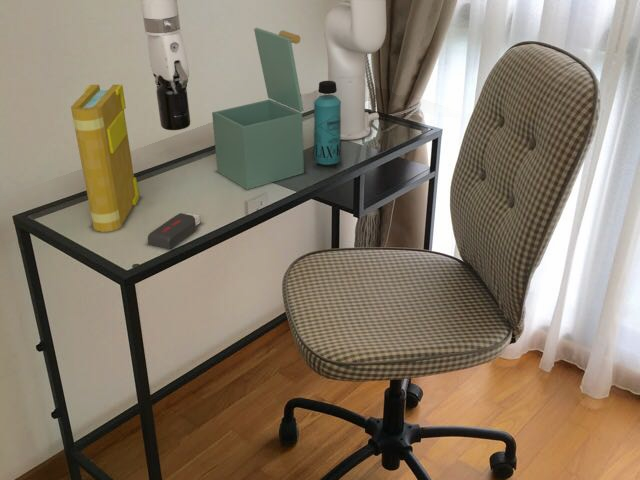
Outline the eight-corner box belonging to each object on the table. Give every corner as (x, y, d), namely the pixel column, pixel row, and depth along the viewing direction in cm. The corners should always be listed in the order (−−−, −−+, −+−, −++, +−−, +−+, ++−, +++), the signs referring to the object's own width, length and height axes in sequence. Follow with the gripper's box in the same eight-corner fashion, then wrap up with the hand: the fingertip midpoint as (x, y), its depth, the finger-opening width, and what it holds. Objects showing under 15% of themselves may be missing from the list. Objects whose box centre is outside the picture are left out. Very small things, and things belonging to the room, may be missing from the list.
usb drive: (148, 244, 154) (146, 231, 153) (183, 220, 163) (181, 208, 162) (170, 249, 152) (168, 236, 151) (204, 224, 161) (202, 212, 160)
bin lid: (287, 39, 166) (308, 31, 168) (253, 28, 175) (274, 20, 177) (300, 112, 176) (320, 103, 178) (268, 98, 185) (287, 89, 188)
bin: (247, 189, 176) (243, 127, 169) (217, 171, 186) (211, 112, 178) (303, 173, 184) (302, 113, 176) (272, 156, 193) (269, 99, 186)
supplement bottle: (185, 131, 177) (178, 78, 171) (156, 130, 178) (148, 77, 172) (195, 121, 183) (188, 69, 176) (167, 120, 184) (160, 68, 177)
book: (109, 197, 174) (89, 84, 160) (139, 197, 174) (122, 84, 160) (87, 231, 160) (64, 110, 146) (120, 231, 159) (100, 110, 146)
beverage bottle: (308, 166, 188) (306, 82, 177) (327, 158, 192) (326, 76, 181) (328, 173, 184) (327, 87, 173) (347, 165, 188) (347, 81, 177)
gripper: (196, 28, 164) (206, 112, 174) (159, 15, 176) (170, 94, 186) (164, 34, 160) (176, 119, 170) (129, 20, 172) (141, 100, 182)
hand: (173, 105), depth 178 cm, fingers closed on supplement bottle, 6 cm apart
